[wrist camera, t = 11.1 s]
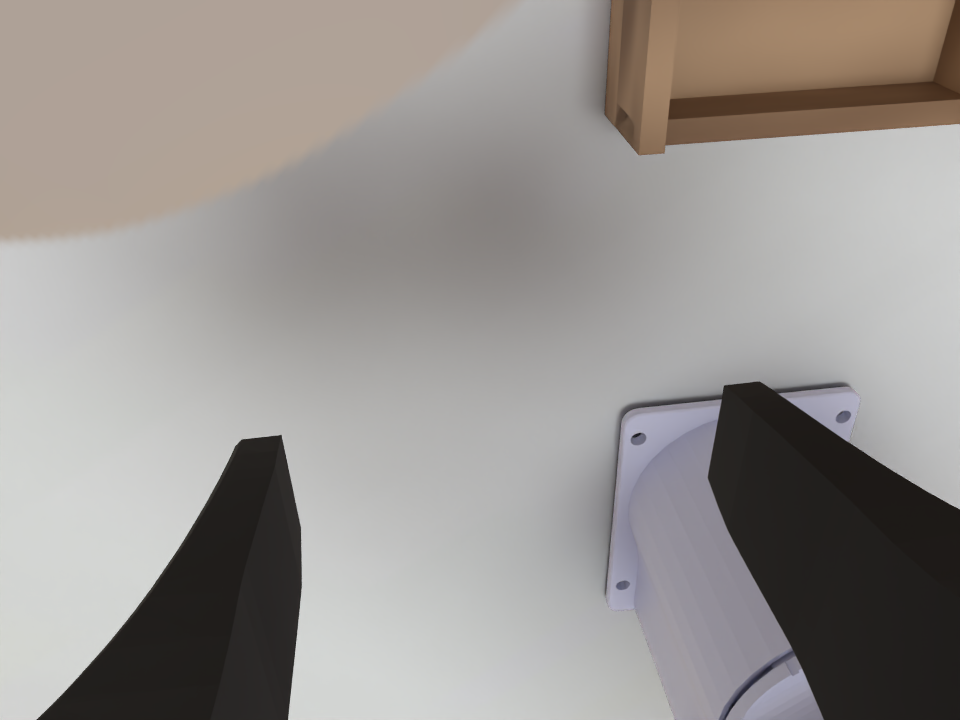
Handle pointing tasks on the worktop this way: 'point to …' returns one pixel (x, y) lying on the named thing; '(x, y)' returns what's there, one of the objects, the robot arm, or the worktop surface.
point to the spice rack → (779, 68)
